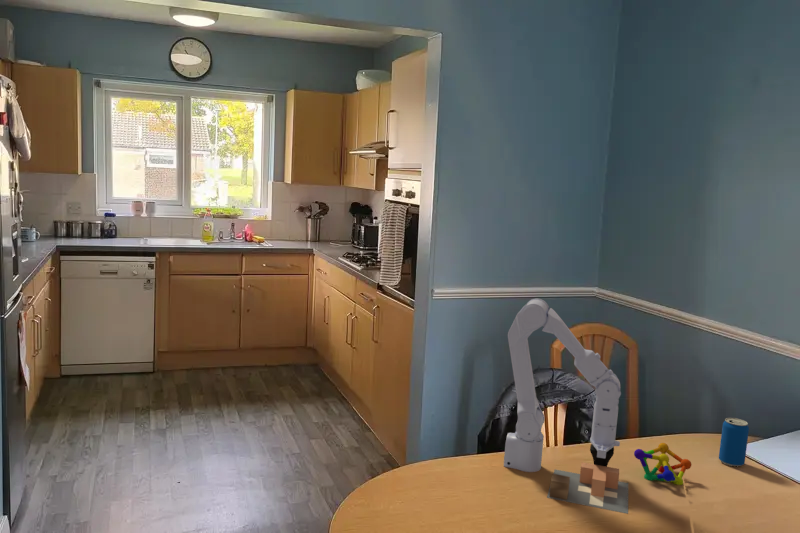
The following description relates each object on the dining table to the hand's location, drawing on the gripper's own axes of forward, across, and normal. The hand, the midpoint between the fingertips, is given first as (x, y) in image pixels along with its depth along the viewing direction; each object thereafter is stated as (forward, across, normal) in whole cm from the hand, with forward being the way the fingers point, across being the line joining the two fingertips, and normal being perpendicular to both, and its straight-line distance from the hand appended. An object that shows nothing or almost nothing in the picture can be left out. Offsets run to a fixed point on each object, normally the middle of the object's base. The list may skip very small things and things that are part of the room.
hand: (599, 475), depth 170 cm
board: (+2, -8, +2) cm, 8 cm away
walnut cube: (+1, -14, +9) cm, 16 cm away
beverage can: (+2, +30, -34) cm, 45 cm away
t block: (+1, -6, 0) cm, 6 cm away
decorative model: (+2, +8, -15) cm, 17 cm away
